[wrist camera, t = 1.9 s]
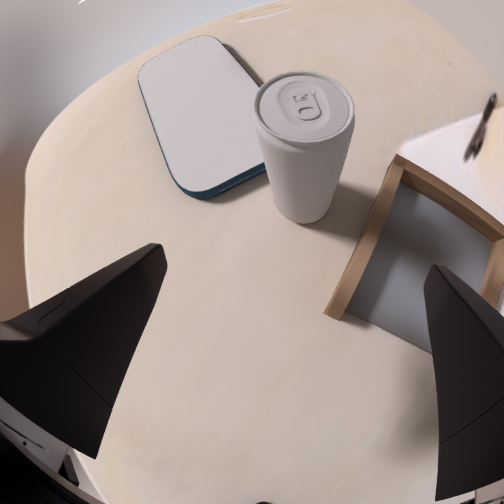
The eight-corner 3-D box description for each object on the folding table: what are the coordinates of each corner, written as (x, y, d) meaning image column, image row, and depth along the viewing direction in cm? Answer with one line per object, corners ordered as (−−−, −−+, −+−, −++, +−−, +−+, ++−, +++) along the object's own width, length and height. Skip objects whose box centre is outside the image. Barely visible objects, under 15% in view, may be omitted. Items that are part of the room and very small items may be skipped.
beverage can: (323, 167, 22) (335, 63, 11) (338, 219, 21) (374, 136, 10) (269, 178, 23) (241, 78, 11) (280, 231, 22) (261, 156, 10)
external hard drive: (139, 77, 30) (133, 69, 28) (213, 39, 29) (210, 29, 27) (190, 214, 24) (182, 207, 22) (305, 156, 23) (305, 145, 21)
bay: (451, 376, 17) (465, 383, 15) (323, 312, 20) (326, 314, 18) (498, 239, 18) (512, 233, 16) (388, 167, 21) (396, 153, 19)
